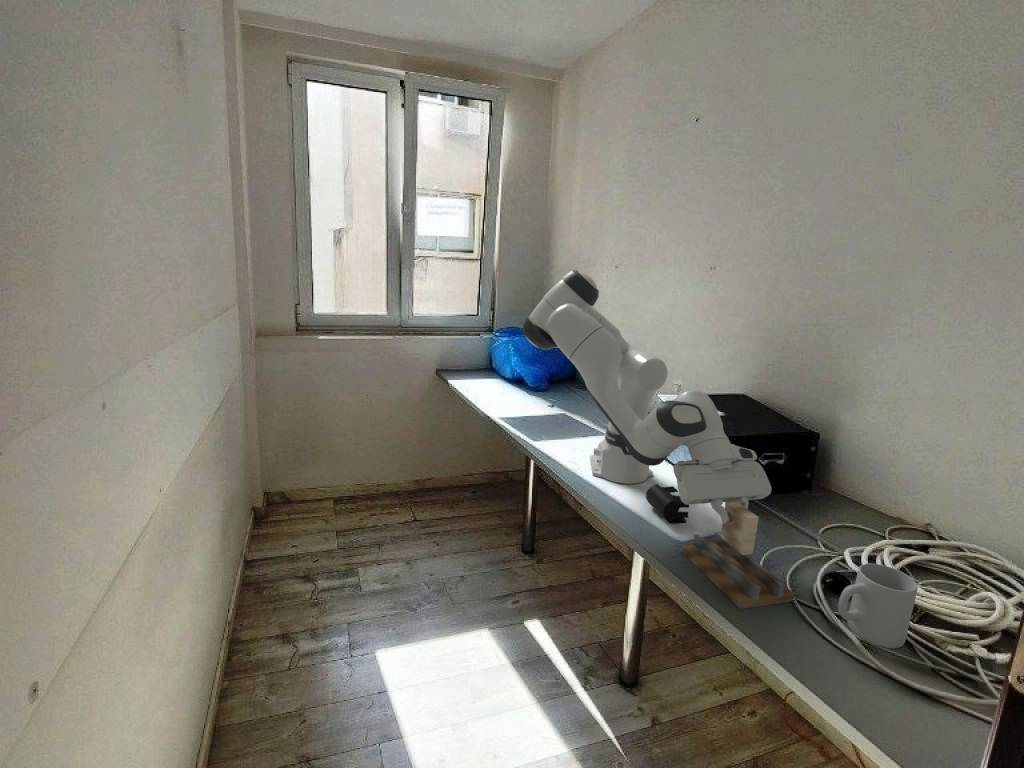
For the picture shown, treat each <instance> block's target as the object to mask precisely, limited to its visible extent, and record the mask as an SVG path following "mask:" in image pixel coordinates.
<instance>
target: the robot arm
mask: <svg viewBox="0 0 1024 768" xmlns="http://www.w3.org/2000/svg"><path fill="white" fill-rule="evenodd" d="M599 293H600V291H599V289H598V286H597V284H596V282H595V281H594V280H593V279H592V277H591V276H590V275H588V274H586V273H585V272H582V271H579V270H576V269H575V270H573V269H572V270H570V271H569V272H567V273H566V274H564V275H563V276H562V277H561V279H560V280H559V281H558V282H556V284H554V286H552V287H551V288H550V289H549V290H548V291H547V292H546V293H545V294H544V296H543V298H542V299H541V300H540V301H539V302H538V304H537V305H536V306H535V308H534V309H533V310H532V312H531V313H530V315H527V317H526V318H525V320H524V321H523V323H522V331H523V334H524V335H525V337H526V339H527V340H528V342H529V343H530V344H531V345H532V346H534V347H536V348H538V349H540V350H542V351H550V350H552V349H554V348H557V347H558V348H559V350H560V351H561V352H562V354H563V355H564V356H565V357H566V358H567V359H568V360H569V361H570V362H571V363H572V364H573V366H574V367H575V368H576V370H577V371H578V372H579V374H580V376H581V377H582V378H583V381H584V383H585V387H586V390H587V392H588V394H589V395H590V397H591V398H592V401H594V403H595V405H597V407H598V408H599V410H600V411H601V412H602V413H603V415H604V416H605V418H606V419H607V420H608V425H607V428H606V431H605V436H604V439H603V440H602V441H600V442H599V443H598V445H597V448H596V447H594V448H593V454H592V455H590V456H589V461H590V462H589V463H590V466H591V467H590V468H591V469H590V470H591V473H592V475H593V476H595V477H598V478H602V479H605V480H608V481H611V482H614V483H619V484H627V485H628V484H630V485H631V484H641V483H643V482H645V481H646V480H647V479H648V478H649V477H652V476H654V472H653V470H652V469H650V466H651V467H652V466H658V465H661V464H662V463H663V462H664V461H665V460H666V459H667V458H668V457H669V456H670V455H671V454H672V453H673V452H674V451H676V450H677V449H679V447H682V446H686V447H687V448H688V454H689V456H690V458H691V459H689V460H678V461H677V462H676V463H675V464H674V465H673V468H672V469H673V473H674V476H675V478H676V483H677V490H678V496H680V499H681V501H682V502H683V503H684V504H686V505H689V506H690V505H704V504H710V505H711V509H713V511H714V512H715V513H717V514H718V516H720V520H721V522H722V523H730V522H732V521H733V517H732V514H731V512H727V511H726V510H725V507H723V504H724V503H726V502H735V501H736V502H737V503H739V504H740V505H742V506H743V507H744V508H746V509H747V510H749V503H750V502H749V501H752V500H763V499H765V498H767V497H768V496H770V495H771V493H772V485H771V483H770V480H769V477H768V476H767V474H766V471H765V469H764V468H763V467H762V465H761V464H760V463H759V462H757V461H756V460H757V459H758V455H757V453H756V452H755V451H754V450H752V449H748V448H745V447H742V446H738V445H735V444H733V443H731V441H730V440H729V437H728V436H727V435H726V434H725V431H724V426H723V425H724V423H723V421H722V418H721V416H720V413H719V411H718V409H717V407H716V406H715V405H716V404H715V403H714V402H713V400H712V398H710V396H709V395H708V394H707V393H706V392H704V391H702V390H699V389H698V390H696V389H691V390H687V391H683V392H681V393H679V394H678V395H677V396H676V397H675V398H674V399H673V400H665V401H662V402H661V403H660V404H658V405H657V406H656V407H654V409H653V410H652V411H650V412H649V409H650V405H651V402H652V400H653V397H654V395H655V394H656V393H657V391H658V390H660V389H661V388H662V387H663V386H664V384H665V383H666V381H667V380H668V366H667V365H666V363H665V362H664V361H663V360H662V359H660V358H659V357H658V356H657V355H655V354H653V353H651V352H648V351H644V350H641V349H638V348H637V347H634V346H633V345H631V344H630V343H628V341H626V340H625V338H624V337H623V336H622V334H621V331H620V329H619V328H617V327H616V326H615V325H614V324H613V323H612V322H611V321H610V320H608V319H607V318H606V317H605V316H604V315H603V314H601V312H599V311H598V310H597V309H596V308H594V306H595V304H596V303H597V300H598V299H599ZM618 383H620V387H619V386H618Z"/></svg>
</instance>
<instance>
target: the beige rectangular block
mask: <svg viewBox="0 0 1024 768" xmlns="http://www.w3.org/2000/svg"><path fill="white" fill-rule="evenodd" d="M724 503H725V504H724V509H725V510H726V511H727V512H731V514H732V517H733V521H732V522H730V523H723V522H722V525H721V532H720V533H721V538H722V539H723V540H725V541H726V542H727V543H728V544H729V545H731V546H732V547H733V548H734V549H736V550H737V551H738V552H739V553H740V554H742V555H753V554H754V550H755V549H754V548H755V543H756V542H755V541H756V537H757V530H758V524H759V518H760V517H759V516H757V515H756V514H755V513H753V512H752V511H750V510H749V509H748V510H747V509H746V508H744V507H743V506H742V505H740V504H739V503H737V502H736V501H729V502H724Z"/></svg>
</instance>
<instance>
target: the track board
mask: <svg viewBox="0 0 1024 768" xmlns="http://www.w3.org/2000/svg"><path fill="white" fill-rule="evenodd" d="M692 541H693V542H692V544H681V550H680V552H681V553H682V554H683V555H684V556H685V557H686V558H687V559H688V560H689V561H691V563H692V564H693V565H694V566H695V567H696V568H697V569H698V570H699V571H701V572H702V574H703V575H705V576H706V578H708V580H710V581H711V582H712V583H713V584H714V585H715V586H716V587H717V588H718V589H719V590H720V591H721V592H722V593H723V594H725V596H726V598H728V599H729V600H731V602H732V603H734V605H736V607H737V608H739V609H741V610H742V609H748V608H755V607H762V606H763V607H764V606H769V605H775V604H782V603H783V604H784V603H788V602H789V603H790V602H793V601H792V600H793V599H794V600H795V596H796V594H795V592H793V591H792V590H790V589H789V588H788V587H787V586H786V585H785V583H784V582H782V581H781V580H780V579H779V578H778V577H776V576H775V575H774V574H773V573H772V572H770V571H769V570H768V569H766V568H765V567H764V566H763V565H761V564H760V563H759V562H758V561H756V560H755V559H754V558H753V557H752V556H751V555H750V554H748V555H742V554H740V553H739V552H738V551H737V550H736V549H734V548H733V547H732V546H731V545H729V544H728V543H727V542H726V541H725V540H723V539H722V538H721V532H720V531H715V532H714V538H713V541H711V542H710V541H709V542H708V541H707V540H706V539H705V538H704V537H702V536H701V535H700V533H694V535H693V540H692Z"/></svg>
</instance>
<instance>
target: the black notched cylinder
mask: <svg viewBox="0 0 1024 768" xmlns="http://www.w3.org/2000/svg"><path fill="white" fill-rule="evenodd" d="M672 493H679V491H678V488H676V487H675V486H661V485H660V483H654V484H652V485H651V486H650V487H649V488H648V489H647V490H646V494H645V498H646V501H647V503H648V504H649V505H650V506H651V507H652V508H653V509H654V510H655V511H656V512H657V513H658V514H659V515H660V516H661V517H662V518H663V519H664V520H665V521H666V522H667V523H668V524H671V525H677V524H678V525H679V524H687V523H688V522H687V519H688V518H689V513H690V512H689V511H682V510H681V511H679V510H680V509H685V508H687V509H688V508H690V505H686V504H684V503H683V502H682V501H681V499H680V495H675V494H672Z"/></svg>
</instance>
